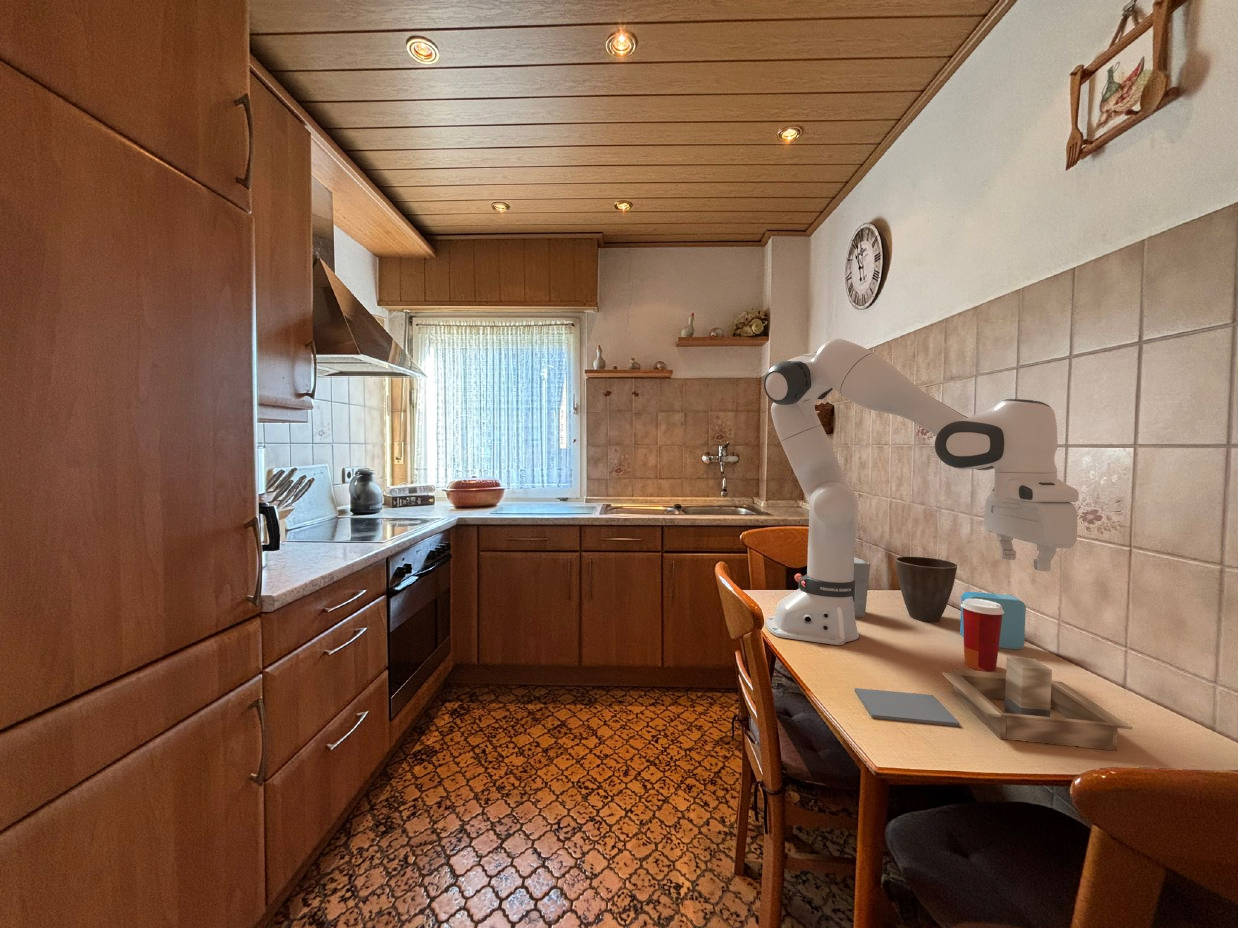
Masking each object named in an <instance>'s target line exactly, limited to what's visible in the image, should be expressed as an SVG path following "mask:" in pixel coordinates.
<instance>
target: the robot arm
mask: <svg viewBox="0 0 1238 928" xmlns="http://www.w3.org/2000/svg"><path fill="white" fill-rule="evenodd" d="M763 389H764V390H763V391H764V393H765V395H766V396H767V399H769V400H770V401H771V402H772V404H771V407H770V415H771V419H772V421H773V426H774V429H775V431H776V435H777V437H778V439H779V442H780V444H781V446H782V449H783V450H784V453H785V455H786V457H787V460H788V462H789V464H790V466H791V468H792V470H793V473H794V475H795V477H796V479H797V482H798V484H799V486H800V487H801V490H802V492H803V494H804V497H805V499H806V501H807V503H808V505H809V511H808V514H809V515H808V537H807V538H808V539H807V541H808V542H807V565H806V567H807V569H806V574H805V575H802V574H801V573H796V574H795V575H794V580H795V581H796V582H797V583H798V589H796V590H794V591H793V592H791V593H790V594H788V595H786V596H785V597H783V598H781V599H780V600H778V603H777V605H776V608H775V611H774V612H775V613H774V615H770V616H768V617H767V618H766V621H765V626H766V628H767V630H768V632H769V633H770V634H772V635H774V636H776V637H778V638H783V639H792V640H799V641H806V642H813V643H819V644H829V645H835V646H842V645H844V644H845V643H847V642H852V641H855V640H857V639H858V638H859V637H860V634H859V631H858V627H857V621H856V617H855V613H854V601H855V595H856V585H855V580H854V557H855V549H856V541H857V540H856V539H857V531H858V530H857V528H858V520H859V519H858V517H859V515H858V514H859V500H858V499H859V498H858V497H857V494H856V493H855V491H854V490H853V489H852V488H851V487H850V486H849V484H848V482H847V479H846V477H845V474H844V472H843V469H842V467H841V465H840V463H839V460H838V458H837V456H836V452H835V451H834V448H833V446H832V444H831V442H830V439H829V437H828V435H827V433H826V430H825V428H824V426H823V425H822V422H821V420H820V418H819V416H818V414H817V412H816V408H815V407H816V402H817V400H824V399H825V398H826V397H828V394H830V392H832V391H833V390H834V391H835V392H837V393H838V394H840V395H841V396H843V397H844V398H845V399H847V400H848V401H850V402H852V403H854V404H856V405H858V406H860V407H863V408H864V409H867V410H870V411H874V412H880V413H885V414H888V415H889V414H890V415H895V416H898V417H901V418H904V419H907V420H909V421H911V422H913V423H914V424H916V425H917V426H919V427H921V428H923V429H924V430H926V431H927V432H929V433H931V434H933V435H935V440H934V450H935V453H936V456H937V457H938V458H939V460H940V461H942V462H943V463H944V464H945V465H946V466H949V467H952V468H955V469H959V470H976V471H977V470H978V471H990V470H993V469H994V486H993V488H992V490H990V492H989V495H988V496H987V498H986V499H985V504H984V513H983V526H984V529H985V531H986V532H989V533H993V534H996V541H997V543H998V546H999V549H1000V557H1001V558H1002V559H1004V560H1007V561H1014V560H1016V558H1017V556H1016V555H1017V550H1014V547H1013V542H1012V541H1014V539H1015V540H1018V541H1019V540H1020V541H1023V542H1026V543H1031V544H1034V545H1036V551H1038V553H1037V557H1036V559H1035V558H1034V559H1033V568H1034V569H1035V570H1037V571H1040V572H1050V571H1051V569H1052V568H1051V564H1052V563H1051V562H1052V561H1053V559H1054V557H1055V555H1056V554H1057V549H1072V548H1073V547H1074V546H1075V544H1076V542H1077V538H1078V511H1077V508H1076V506H1075V505H1074V503H1077V502H1078V501H1079V494H1080V493H1079V491H1078V490H1077V489H1076V488H1075V487H1072V486H1071V485H1069V484H1067V483H1065V482H1064V481H1063V480H1061V479H1059V478H1058V468H1057V465H1056V462H1055V456H1056V453H1057V450H1058V444H1059V443H1058V425H1057V418H1056V414H1055V410H1054V409H1053V408H1052V407H1051V406H1050V405H1049V404H1048V403H1045V402H1042V401H1040V400H1032V399H1022V398H1007V399H1003V400H1000V401H999V402H997V403H996V404H995V405H994V406H992V407H990V408H988V409H987V410H984V411H982V412H980V413H977V414H974V415H972V416H966V415H964V414H962V413H960V412H959V411H957V410H955V409H953V408H951V407H950V406H948V405H947V404H945V403H943V402H941V401H939V400H937V399H936V398H934V397H932V396H931V395H930V394H928V393H926V392H925V391H924V390H923V389H921V388H920V387H919V386H918V385H916V384H915V383H914V382H912V381H911V380H910V378H908V377H907V376H906V375H905V374H903V373H902V372H901V371H900V370H899V369H897V368H896V367H895V366H894V365H893V364H891V363H890V362H889V361H887V360H886V359H884V358H883V357H882V356H880V355H878V354H877V353H876V352H873V351H871V350H870V349H868V348H866V347H864V346H861V345H859V344H856V343H855V342H852V341H849V340H845V339H844V338H843V339H842V338H833V339H830V340H827V341H826V342H825V343H823V344H822V345H821V346H820V347H819V349H818V350H817V351H814V352H811V353H810V352H809V353H804V354H800V355H797V356H795V357H792V358H790V359H788V360H785V361H780V362H778V363H776V364H774V365H772V367H770V368H769V369H768V370H767V371H766V373H765V375H764V377H763Z"/></svg>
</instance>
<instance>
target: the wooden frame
mask: <svg viewBox="0 0 1238 928" xmlns="http://www.w3.org/2000/svg"><path fill="white" fill-rule="evenodd" d="M941 672H942V673H941V674H942V676H944V677H945V678H946V680H948V682H950V683H951V684H952V694H953V696H955V697H956V698H957V699H958V700H959V701H960V703H962V702H963V703H962V704H963V705H964V704H965V705H966V706H965V705H964V706H965V707H966V708H967V707H968V708H969V709H970V710H971V711H972V712H973V713H972V712H971V713H972V714H973V715H974V716H975V717H977V718H978V719H979V720H980V721H981V722H982V723H983V724H984V725H985V726H986V727H987V726H988V727H987V728H988V729H989V730H990V731H991V732H992V733H993V734H994V735H995V736H996V737H997V736H998V737H997V738H999V740H1005V739H1008V741H1015V740H1022V741H1021V742H1025V741H1029V743H1035V742H1041V743H1040V744H1045V743H1051V744H1050V745H1055V744H1056V745H1058V746H1065V745H1066V746H1067V747H1075V746H1079V747H1078V748H1086V749H1087V748H1088V749H1097V750H1104V751H1105V750H1106V751H1107V750H1108V751H1116V752H1117V751H1118V748H1117V747H1118V730H1119V729H1121V730H1122V729H1123V730H1133V726H1132V725H1130V724H1128V723H1127V722H1126V721H1123V720H1122V719H1121V718H1119V717H1118V716H1116V715H1115V714H1113V713H1111V712H1110V711H1108V710H1107V709H1105V708H1103V707H1102V706H1100V705H1099V704H1098V703H1095V702H1094V701H1092V700H1091V699H1089V698H1088V697H1087V696H1085V695H1083V694H1082V693H1080V692H1078V691H1077V690H1075V689H1074V688H1073V687H1071V686H1069V685H1068V684H1066V683H1065V682H1063V681H1054V680H1052V681H1051V703H1050V708H1052V709H1054V710H1055V711H1057V712H1058V713H1059V714H1060V715H1062V716H1063V717H1053V716H1050V717H1044V716H1033V715H1022V714H1011V713H1006V712H1004V711H1002V710H1001V709H1000V708H999V707H997V705H995V704H994V703H993V702H991V701H990V699H993V700H1002V701H1005V685H1006V672H994V671H992V672H987V671H980V670H969V669H959V668H958V669H957V668H956V669H955V668H953V669H952V672H944V671H941ZM968 708H967V709H968ZM969 709H968V710H969ZM970 710H969V711H970ZM1024 740H1025V741H1024Z"/></svg>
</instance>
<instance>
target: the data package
mask: <svg viewBox="0 0 1238 928" xmlns="http://www.w3.org/2000/svg"><path fill="white" fill-rule="evenodd" d="M965 599H982V600H988V601H992V602H995V603H998V604H1000V605H1001V606H1002V610H1003V611H1004V614H1002V624H1001V632H1000V640H999V648H1000V649H1009V650H1015V649H1016V650H1022V649H1023V648H1024V646H1025V640H1026V639H1025V635H1026V634H1025V633H1026V613H1027V612H1026V611H1027V609H1026V608H1027V605H1026V604H1025V602H1023V601H1022V600H1020V599H1019V598H1017V597H1015V596H1013V595H1012V594H1001V593H1000V594H999V593H991V592H990V593H987V592H978V591H976V592H975V591H965V592H964V593H962V595H961V603H960V605H961V604H963V603H962V602H963V601H964V600H965ZM959 628H960V631H959V633H960V635H961V637H963V638H964V633H963V607H961V606H960V626H959ZM1016 650H1015V651H1016Z"/></svg>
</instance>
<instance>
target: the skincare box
mask: <svg viewBox="0 0 1238 928" xmlns="http://www.w3.org/2000/svg"><path fill="white" fill-rule="evenodd" d="M870 568H871V564H870V563H869V562H867V561H864V559H860V558H858V557H855V556H854V580H855V585H856V595H855V601H854V613H855V618H857V617H859V618H861V617H862V618H865V617H866V612H867V611H866V610H867V609H866V608H867V600H868V599H867V598H868V588H869V579H870Z"/></svg>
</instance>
